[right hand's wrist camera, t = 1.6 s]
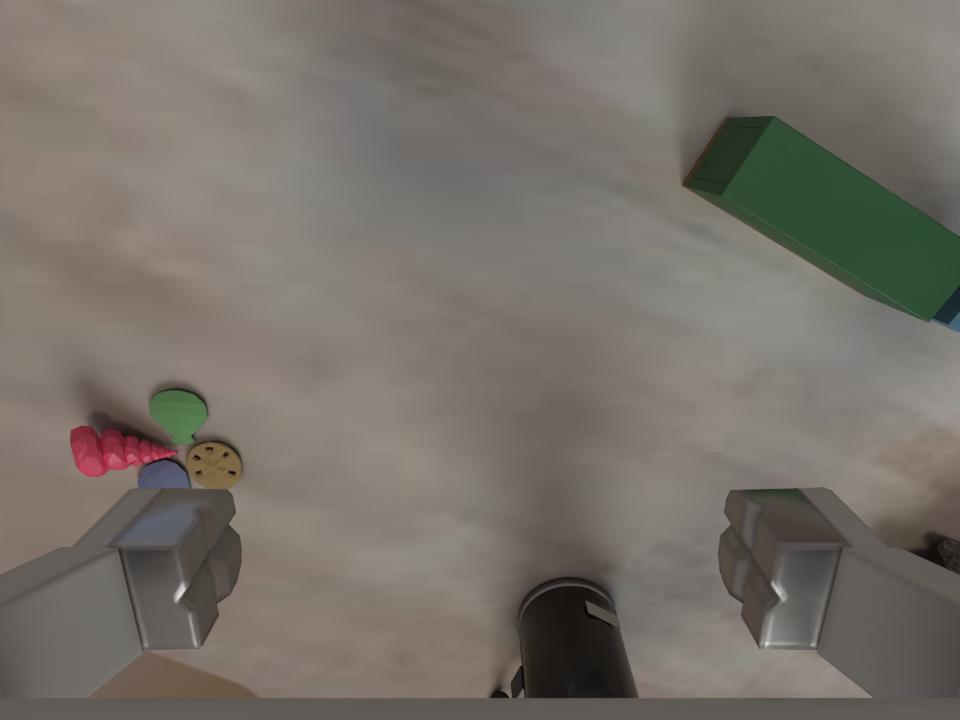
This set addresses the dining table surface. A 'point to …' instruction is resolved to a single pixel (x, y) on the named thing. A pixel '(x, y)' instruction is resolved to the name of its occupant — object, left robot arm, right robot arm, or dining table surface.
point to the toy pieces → (159, 448)
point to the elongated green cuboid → (828, 214)
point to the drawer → (950, 312)
